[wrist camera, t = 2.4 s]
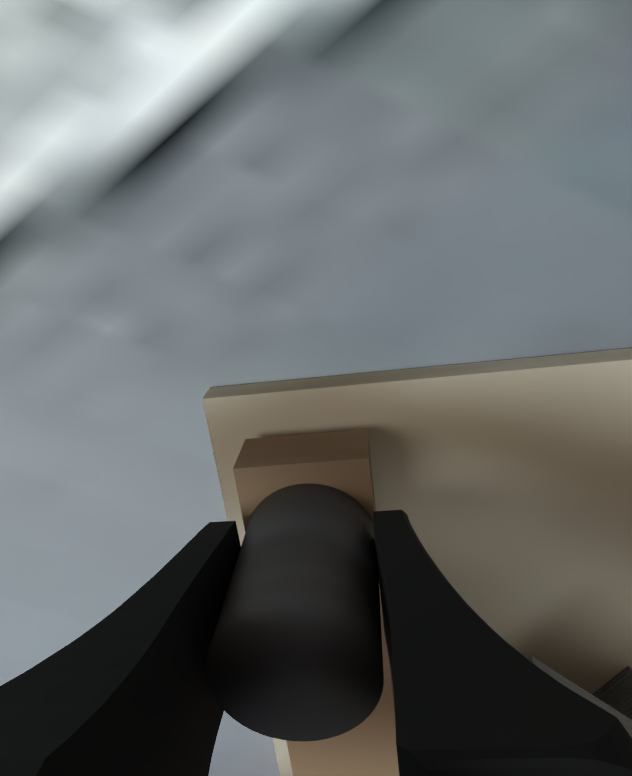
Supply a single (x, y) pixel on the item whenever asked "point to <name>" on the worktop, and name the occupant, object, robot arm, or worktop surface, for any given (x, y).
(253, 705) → the link
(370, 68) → the worktop surface
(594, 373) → the latch board
